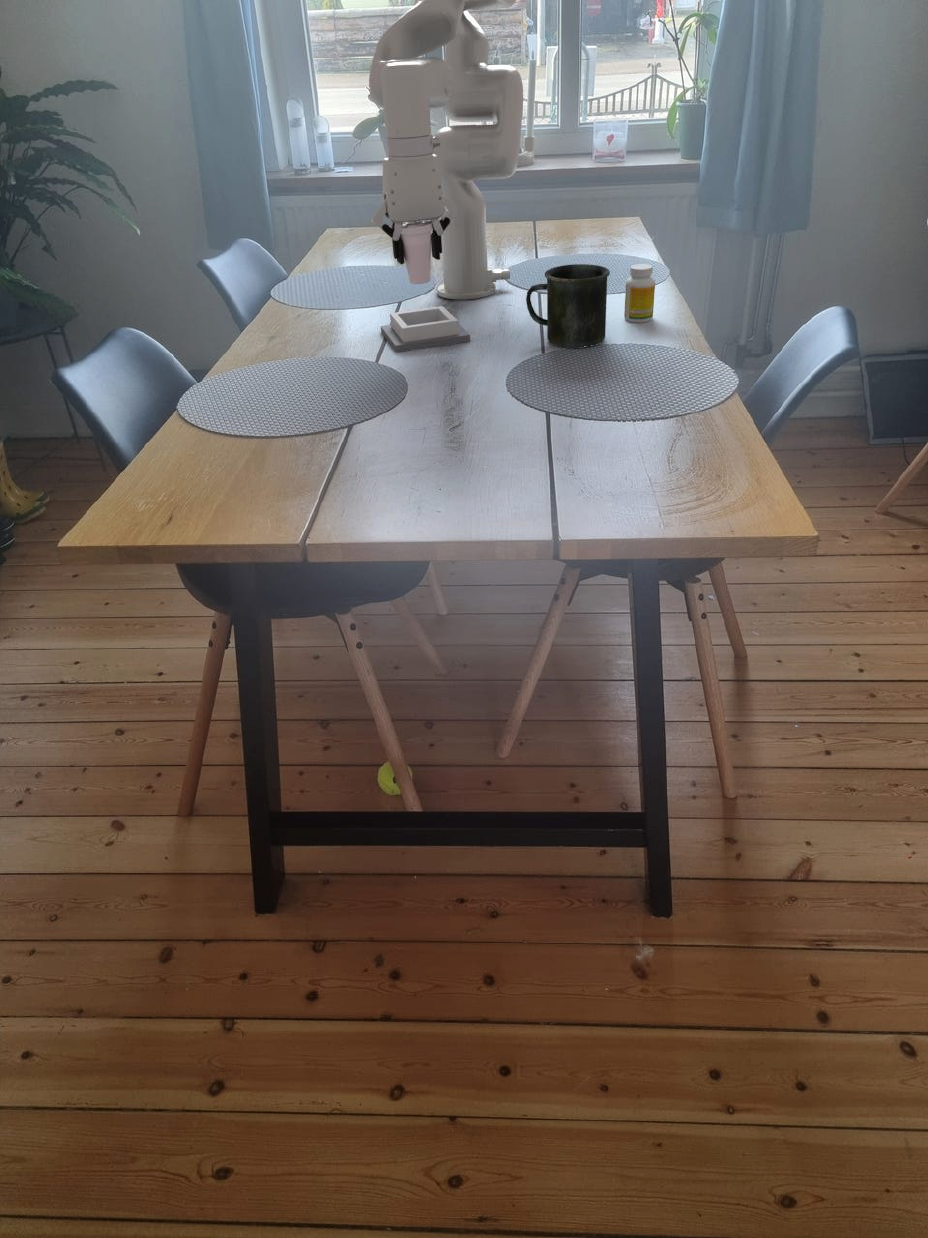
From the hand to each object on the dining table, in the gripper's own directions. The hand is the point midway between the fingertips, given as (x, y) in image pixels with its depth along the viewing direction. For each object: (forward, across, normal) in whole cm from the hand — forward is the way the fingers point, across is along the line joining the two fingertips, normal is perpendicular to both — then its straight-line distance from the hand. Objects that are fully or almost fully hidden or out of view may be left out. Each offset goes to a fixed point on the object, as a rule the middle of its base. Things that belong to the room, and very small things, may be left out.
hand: (418, 259), depth 162 cm
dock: (+14, 0, 0) cm, 14 cm away
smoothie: (+4, 0, 0) cm, 4 cm away
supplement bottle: (+14, -40, +8) cm, 43 cm away
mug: (+14, -23, +14) cm, 30 cm away
